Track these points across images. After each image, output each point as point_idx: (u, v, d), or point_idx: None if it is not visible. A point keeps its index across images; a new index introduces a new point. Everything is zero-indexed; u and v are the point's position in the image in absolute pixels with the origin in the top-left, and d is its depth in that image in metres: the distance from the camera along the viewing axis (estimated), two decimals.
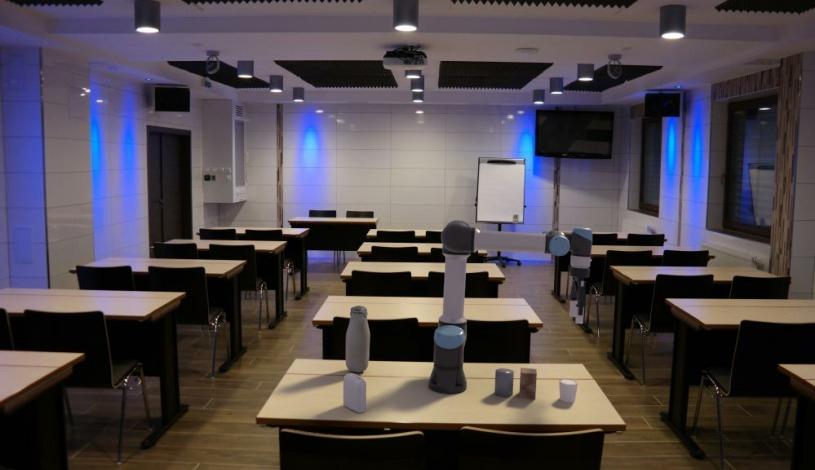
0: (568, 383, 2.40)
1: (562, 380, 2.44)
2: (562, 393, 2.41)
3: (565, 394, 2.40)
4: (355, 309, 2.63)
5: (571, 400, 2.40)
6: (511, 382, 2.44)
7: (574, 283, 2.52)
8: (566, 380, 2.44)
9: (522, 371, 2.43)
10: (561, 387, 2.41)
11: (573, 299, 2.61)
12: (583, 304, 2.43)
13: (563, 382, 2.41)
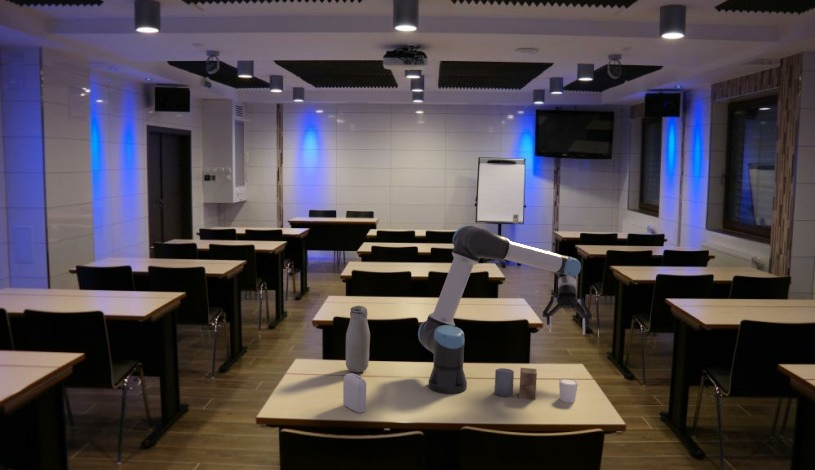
0: (568, 383, 2.40)
1: (562, 380, 2.44)
2: (562, 393, 2.41)
3: (565, 394, 2.40)
4: (355, 309, 2.63)
5: (571, 400, 2.40)
6: (511, 382, 2.44)
7: (571, 299, 2.70)
8: (566, 380, 2.44)
9: (522, 371, 2.43)
10: (561, 387, 2.41)
11: (549, 316, 2.68)
12: (591, 317, 2.66)
13: (563, 382, 2.41)
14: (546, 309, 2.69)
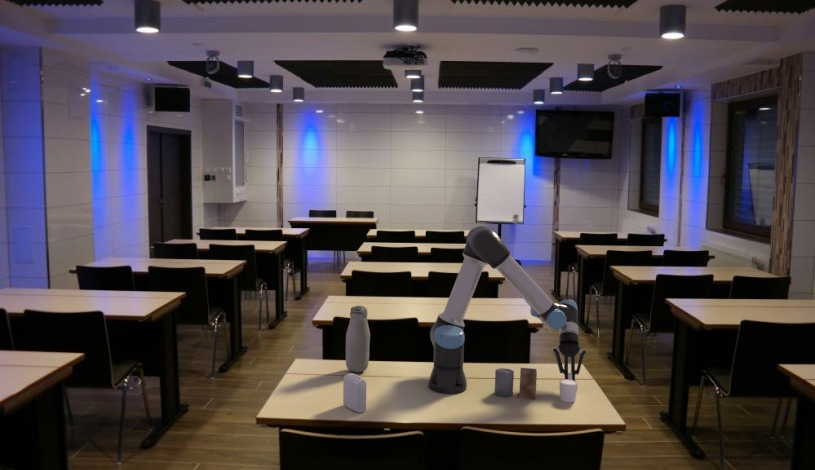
0: (568, 383, 2.40)
1: (562, 380, 2.43)
2: (562, 393, 2.40)
3: (565, 395, 2.40)
4: (355, 309, 2.63)
5: (571, 400, 2.40)
6: (511, 382, 2.44)
7: (573, 348, 2.54)
8: (566, 380, 2.43)
9: (522, 371, 2.43)
10: (561, 387, 2.41)
11: (567, 372, 2.50)
12: (578, 372, 2.50)
13: (563, 382, 2.41)
14: (560, 364, 2.51)
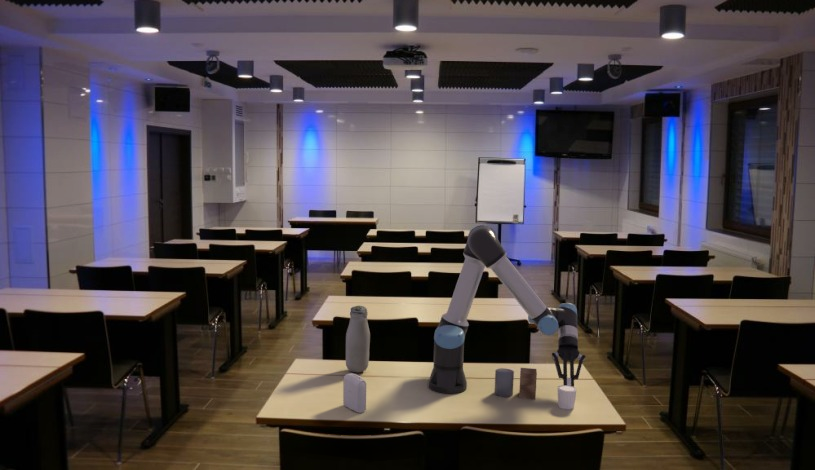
0: (566, 390, 2.33)
1: (561, 386, 2.37)
2: (560, 400, 2.34)
3: (563, 401, 2.33)
4: (355, 309, 2.63)
5: (569, 407, 2.33)
6: (511, 382, 2.44)
7: (572, 352, 2.47)
8: (565, 386, 2.37)
9: (522, 371, 2.43)
10: (559, 393, 2.34)
11: (566, 377, 2.43)
12: (578, 377, 2.43)
13: (561, 388, 2.34)
14: (559, 369, 2.44)
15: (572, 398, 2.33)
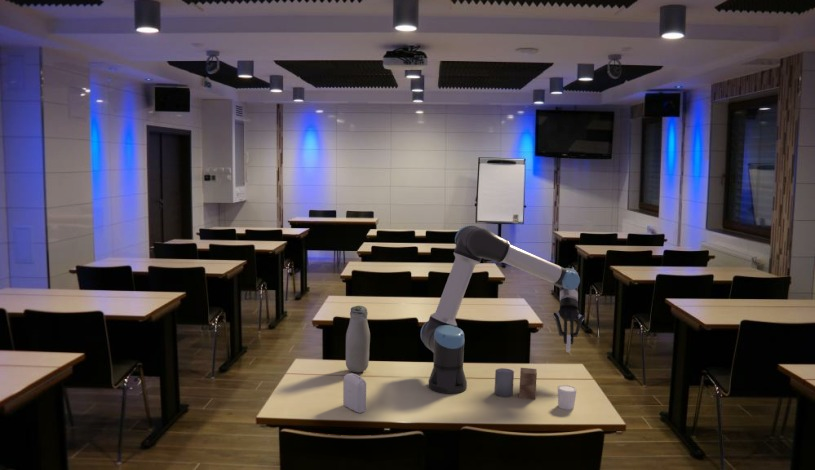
0: (566, 390, 2.33)
1: (561, 386, 2.37)
2: (560, 400, 2.34)
3: (563, 401, 2.33)
4: (355, 309, 2.63)
5: (569, 407, 2.33)
6: (511, 382, 2.44)
7: (572, 312, 2.66)
8: (565, 386, 2.37)
9: (522, 371, 2.43)
10: (559, 393, 2.34)
11: (566, 335, 2.62)
12: None
13: (561, 388, 2.34)
14: (560, 327, 2.63)
15: (572, 398, 2.33)
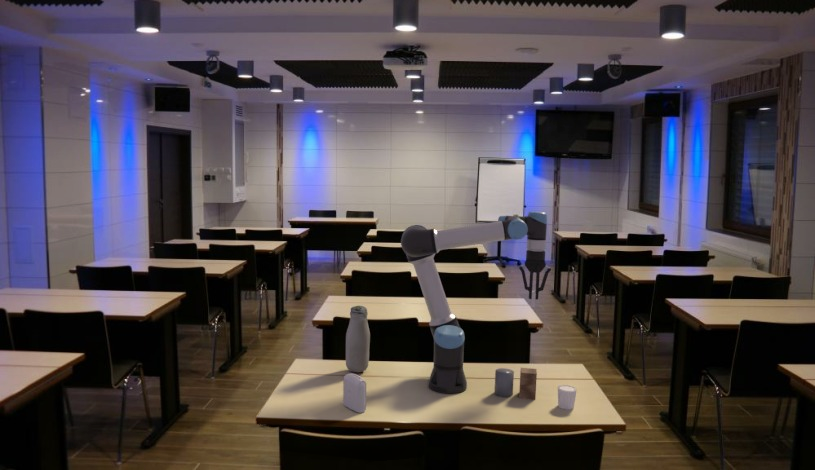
0: (566, 390, 2.33)
1: (561, 386, 2.37)
2: (560, 400, 2.34)
3: (563, 401, 2.33)
4: (355, 309, 2.63)
5: (569, 407, 2.33)
6: (511, 382, 2.44)
7: (538, 267, 2.57)
8: (565, 386, 2.37)
9: (522, 371, 2.43)
10: (559, 393, 2.34)
11: None
12: None
13: (561, 388, 2.35)
14: (525, 283, 2.60)
15: (572, 398, 2.33)
